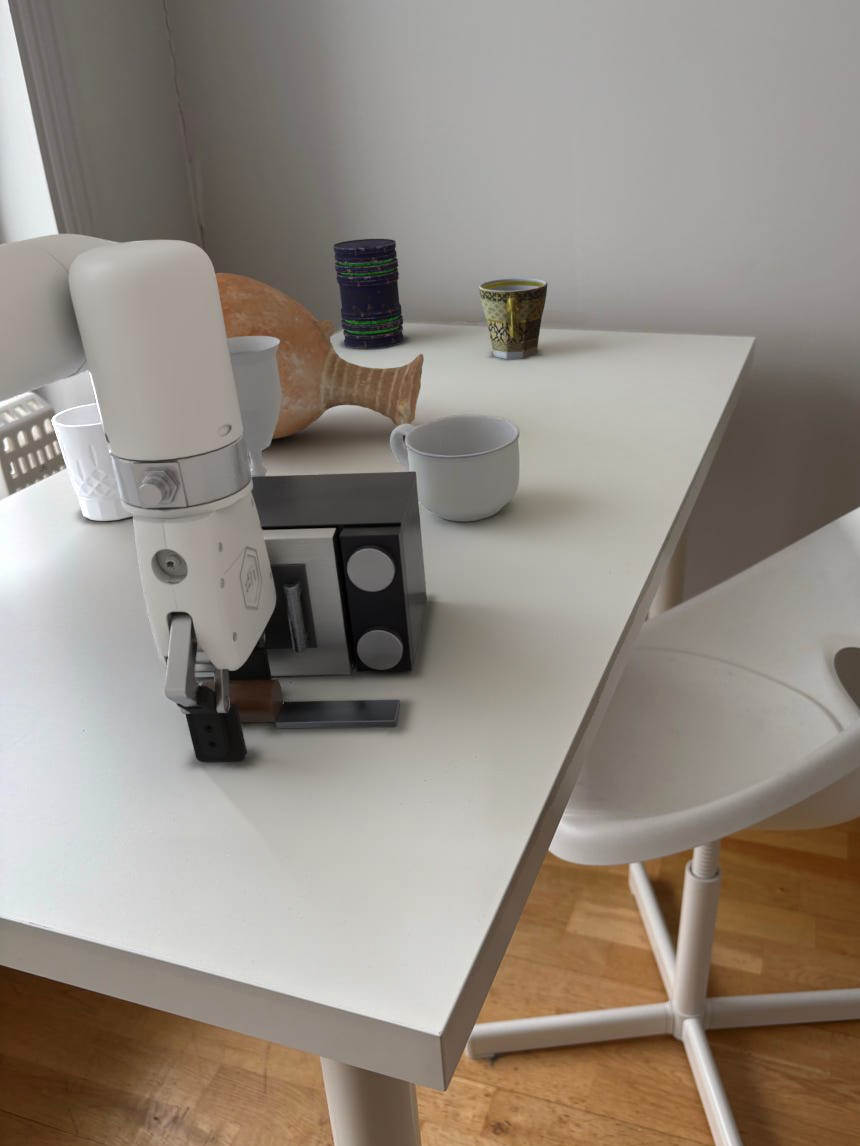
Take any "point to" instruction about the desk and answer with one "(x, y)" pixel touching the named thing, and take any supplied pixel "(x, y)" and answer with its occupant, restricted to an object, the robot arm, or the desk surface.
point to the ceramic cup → (514, 315)
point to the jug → (313, 359)
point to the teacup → (461, 463)
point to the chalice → (256, 392)
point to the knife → (305, 708)
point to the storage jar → (369, 293)
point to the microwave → (362, 552)
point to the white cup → (89, 462)
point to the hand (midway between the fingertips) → (237, 725)
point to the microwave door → (305, 605)
